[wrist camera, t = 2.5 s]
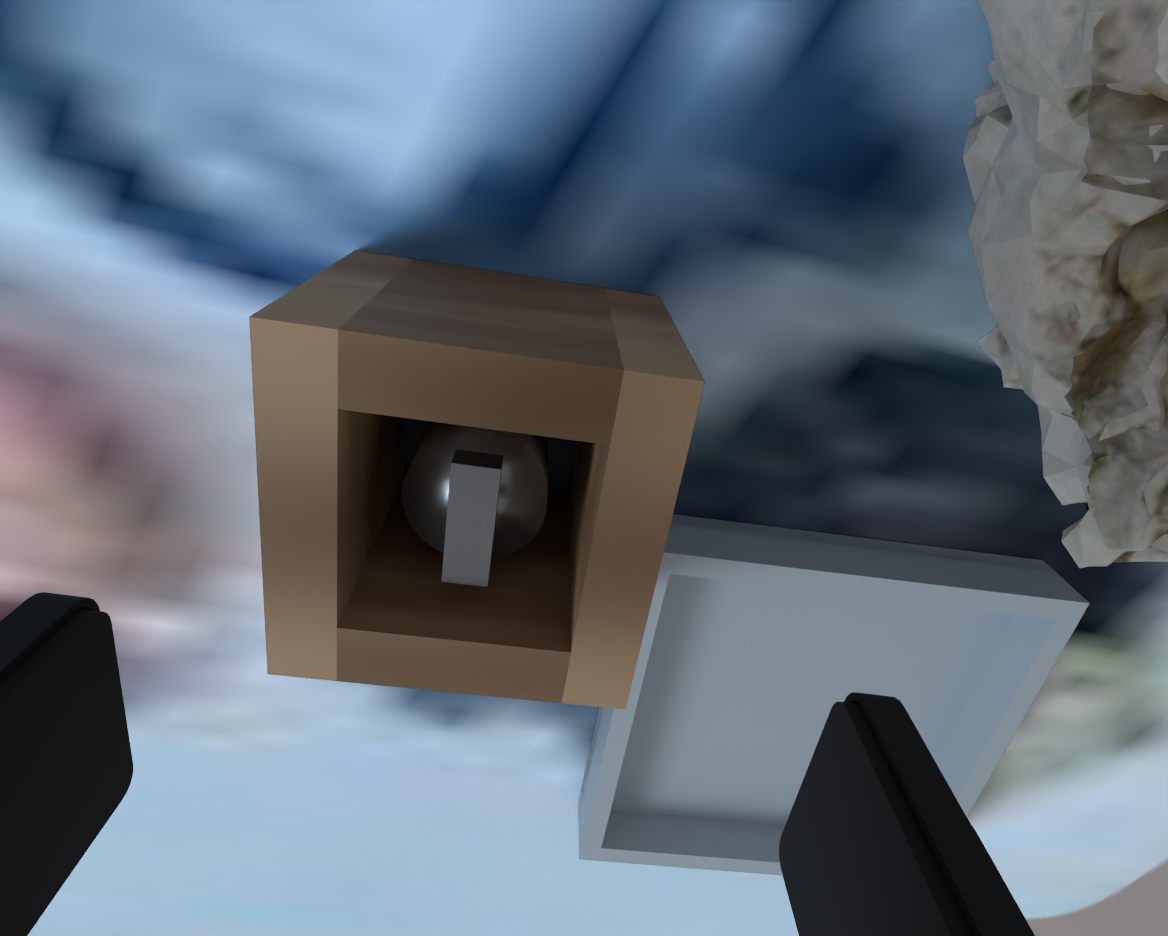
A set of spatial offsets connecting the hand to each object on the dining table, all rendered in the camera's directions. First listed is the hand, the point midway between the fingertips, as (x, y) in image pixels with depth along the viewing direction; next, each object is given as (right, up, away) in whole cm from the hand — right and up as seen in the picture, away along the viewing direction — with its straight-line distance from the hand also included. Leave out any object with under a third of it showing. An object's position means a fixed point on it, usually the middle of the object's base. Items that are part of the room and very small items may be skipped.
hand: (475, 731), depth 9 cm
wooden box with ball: (-1, +5, +8) cm, 10 cm away
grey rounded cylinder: (-1, +5, +8) cm, 10 cm away
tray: (+8, -4, +13) cm, 15 cm away
